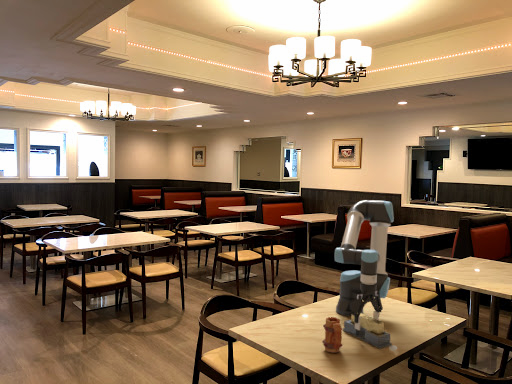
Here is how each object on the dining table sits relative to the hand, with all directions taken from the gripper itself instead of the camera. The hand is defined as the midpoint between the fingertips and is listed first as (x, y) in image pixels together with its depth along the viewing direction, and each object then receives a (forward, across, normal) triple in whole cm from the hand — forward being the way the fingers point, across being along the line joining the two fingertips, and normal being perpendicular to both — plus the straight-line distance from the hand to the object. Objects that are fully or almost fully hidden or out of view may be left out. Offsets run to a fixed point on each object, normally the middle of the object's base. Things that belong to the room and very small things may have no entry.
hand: (366, 326), depth 200 cm
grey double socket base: (+5, 0, 0) cm, 5 cm away
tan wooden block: (+4, 0, 0) cm, 4 cm away
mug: (+5, -26, -5) cm, 27 cm away
